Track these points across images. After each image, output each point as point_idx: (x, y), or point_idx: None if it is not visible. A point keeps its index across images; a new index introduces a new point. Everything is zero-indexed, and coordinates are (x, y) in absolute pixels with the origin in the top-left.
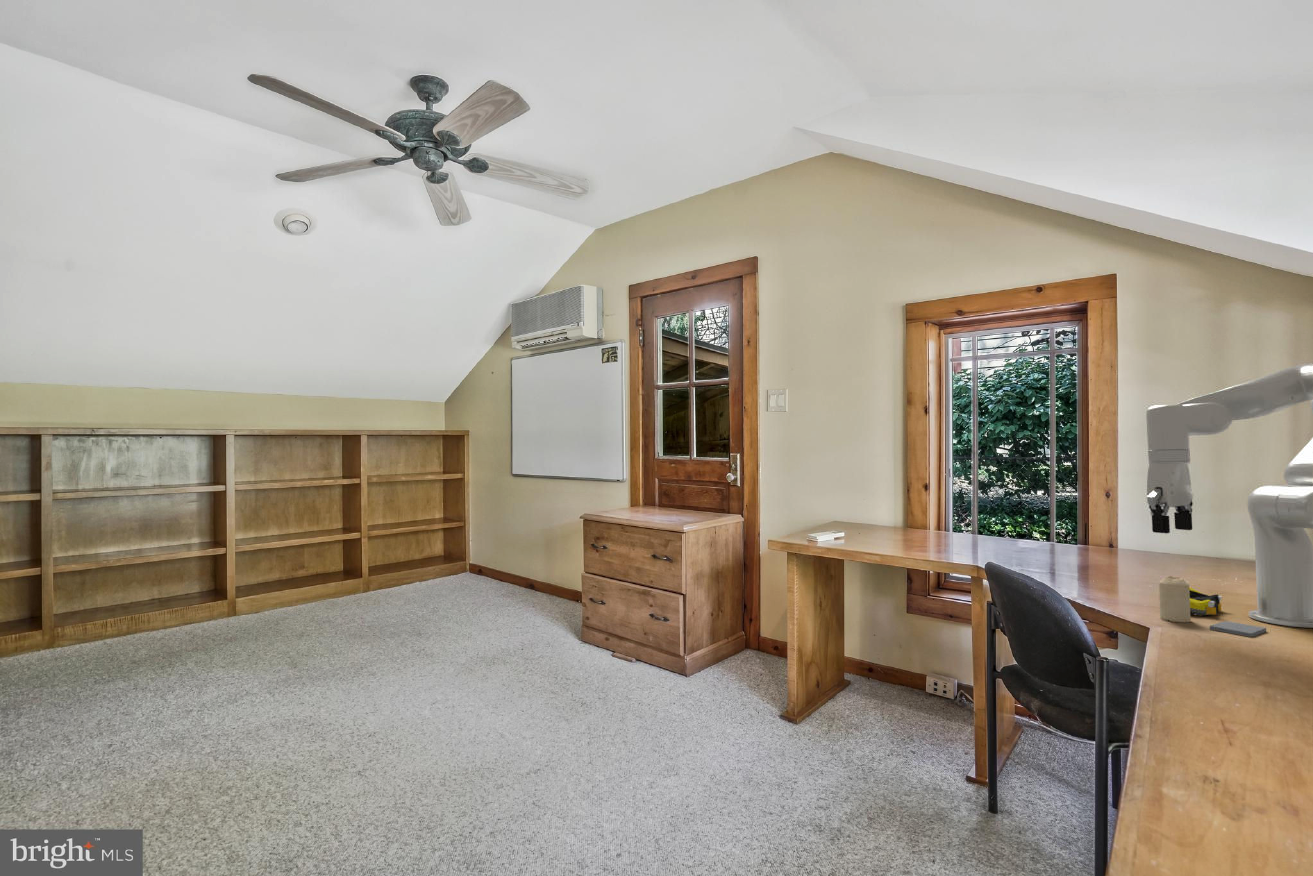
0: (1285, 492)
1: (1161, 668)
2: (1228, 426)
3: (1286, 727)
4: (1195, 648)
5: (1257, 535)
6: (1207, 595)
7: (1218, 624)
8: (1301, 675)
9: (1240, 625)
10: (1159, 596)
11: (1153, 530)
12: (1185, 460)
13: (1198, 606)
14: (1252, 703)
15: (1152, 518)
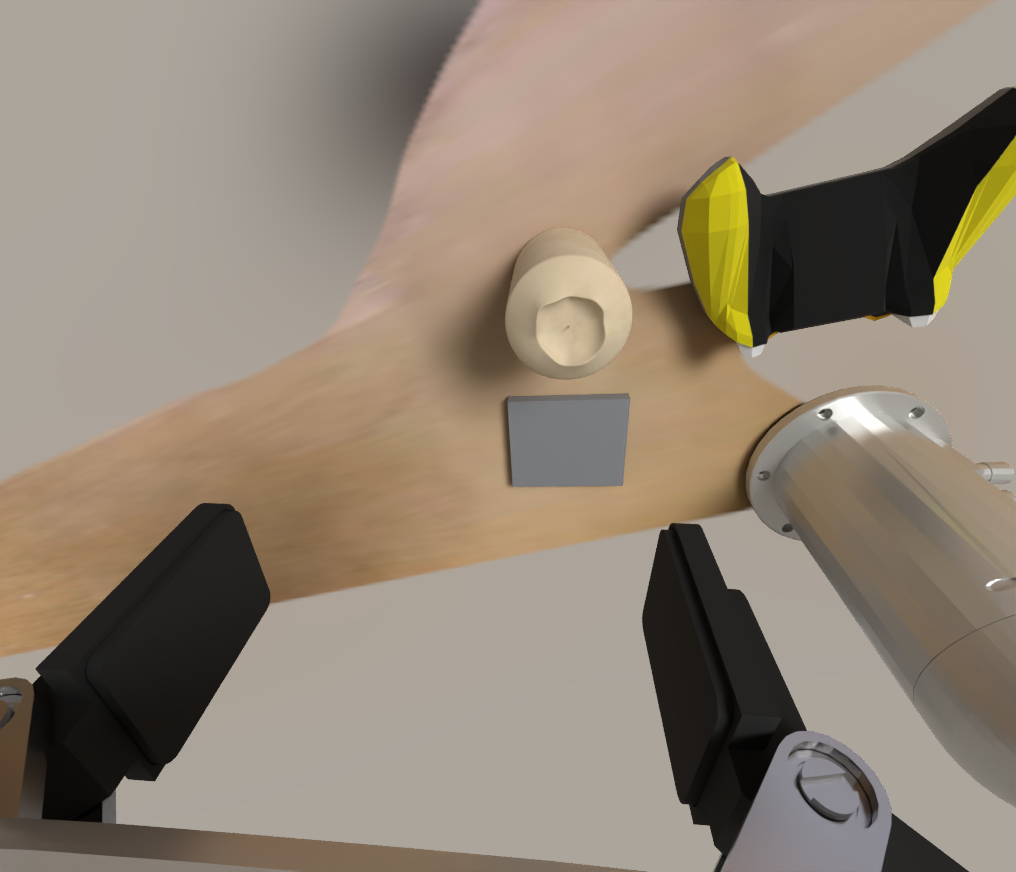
0: None
1: (38, 480)
2: None
3: (26, 640)
4: (260, 455)
5: None
6: (934, 270)
7: (552, 407)
8: (284, 600)
9: (596, 443)
10: (540, 248)
11: (197, 516)
12: None
13: (708, 309)
14: (58, 603)
15: (88, 625)
